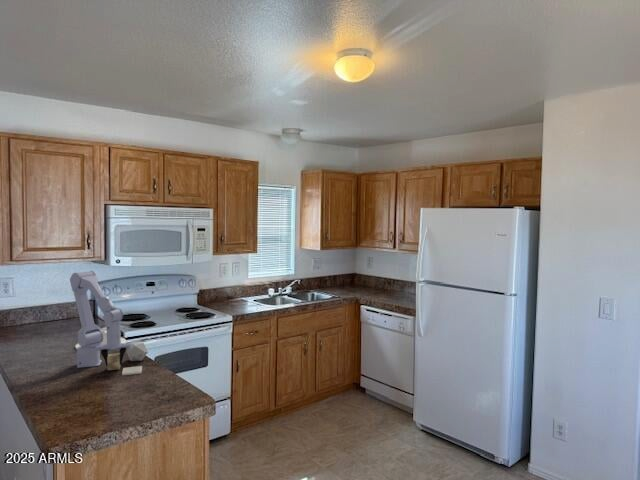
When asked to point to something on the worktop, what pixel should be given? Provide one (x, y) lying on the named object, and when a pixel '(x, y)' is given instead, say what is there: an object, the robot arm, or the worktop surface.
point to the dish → (104, 342)
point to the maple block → (113, 361)
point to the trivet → (132, 370)
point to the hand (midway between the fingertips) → (114, 364)
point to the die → (137, 352)
